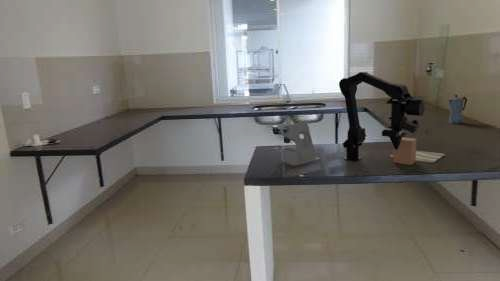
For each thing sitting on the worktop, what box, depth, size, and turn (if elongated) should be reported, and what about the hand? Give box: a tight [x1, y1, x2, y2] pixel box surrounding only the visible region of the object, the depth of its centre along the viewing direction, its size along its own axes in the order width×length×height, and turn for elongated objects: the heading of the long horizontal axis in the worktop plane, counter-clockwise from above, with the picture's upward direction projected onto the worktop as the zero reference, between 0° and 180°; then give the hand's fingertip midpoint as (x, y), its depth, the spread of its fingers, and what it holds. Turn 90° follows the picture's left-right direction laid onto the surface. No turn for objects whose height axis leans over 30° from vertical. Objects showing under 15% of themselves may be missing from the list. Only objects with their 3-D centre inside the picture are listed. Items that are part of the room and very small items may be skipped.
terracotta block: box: [392, 136, 418, 166], centre depth 171 cm, size 6×8×11 cm
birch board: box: [388, 150, 446, 164], centre depth 181 cm, size 18×20×1 cm
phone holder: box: [280, 122, 321, 166], centre depth 181 cm, size 17×10×18 cm, turn 122°
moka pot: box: [447, 94, 468, 124], centre depth 264 cm, size 10×15×20 cm, turn 107°
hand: (396, 149), depth 164 cm, fingers closed
